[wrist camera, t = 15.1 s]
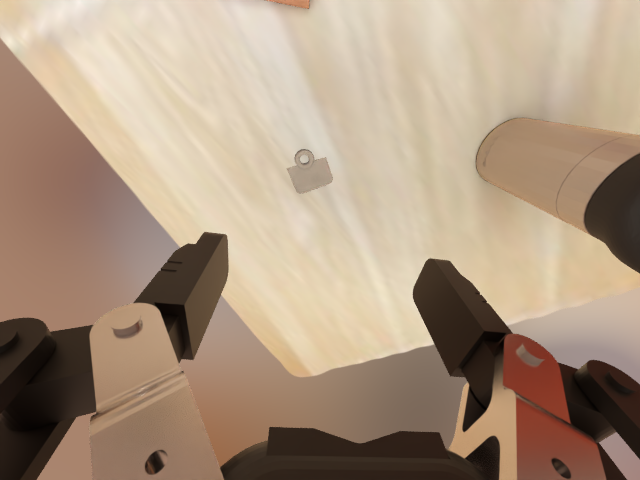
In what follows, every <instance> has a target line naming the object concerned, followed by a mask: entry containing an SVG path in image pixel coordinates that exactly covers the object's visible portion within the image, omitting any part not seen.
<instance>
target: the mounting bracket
mask: <svg viewBox="0 0 640 480" xmlns="http://www.w3.org/2000/svg"><path fill="white" fill-rule="evenodd" d="M304 154H305V155H307V156H308V157H309V162H307V163H304V164H302V163H301V162H300V156H301V155H304ZM295 163H296V164H297V166H293V167H290V168H287V170H288V173H289V175H290V177H291V180H292V182H293V184H294V187H295V189H296V191H297V192H298V193H305V192H308V191H311V190H314V189H316V188H319V187H322V186H325V185H327V184H330V183H331V182H332V180H333V177H332V174H331V171H330V168H329V165H328V162H327V159H326V157H325V158H322V159H318V160H315V161H314V156H313V154H312V152H310V151H309V150H306V149H302V150H300V151H298V152H297V153H296V155H295Z"/></svg>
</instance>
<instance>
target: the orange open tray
mask: <svg viewBox="0 0 640 480" xmlns="http://www.w3.org/2000/svg"><path fill="white" fill-rule="evenodd" d="M266 1H271V2H276V3H281V4H287V5H292V6H297V7H302V8H307V9H309V1H310V0H266Z"/></svg>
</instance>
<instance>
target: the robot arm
mask: <svg viewBox="0 0 640 480" xmlns="http://www.w3.org/2000/svg"><path fill="white" fill-rule="evenodd" d="M476 164H477V170H478V173H479V174H480V176H481V177H482V178H483V179H485V180H486V181H488V182H490V183H492V184H494V185H496V186H498V187H499V188H501V189H503V190H505V191H507V192H509V193H511V194H513V195H515V196H516V197H518V198H520V199H522V200H524V201H526V202H528V203H530V204H532V205H534V206H536V207H538V208H539V209H541V210H543V211H545V212H547V213H549V214H551V215H553V216H555V217H557V218H559V219H561V220H562V221H564V222H566V223H569V224H571V225H572V226H574V227H576V228H578V229H580V230H582V231H584V232H586V233H588V234H590V235H592V236H593V237H595V238H597V239H599V240H601V241H602V242H604V243H605V244H606V245H607V246H608V248H609V249H610V251H611V252H612V253H613V254H614V255H615V256H616V257H617V258H618V259H619V260H620V261H621V262H623V263H624V264H626V265H627V266H629V267H630V268H632V269H633V270H635V271H637V272H638V273H640V135H635V134H628V133H622V132H615V131H608V130H601V129H595V128H588V127H581V126H574V125H567V124H561V123H554V122H548V121H541V120H534V119H527V118H515V119H512V120H509V121H507V122H505V123H503V124H501V125H499V126H498V127H497V128H495V129H494V130H493V131H492V132H491V133H490V134H489V135H488V136H487V137H486V139H485V140H484V141H483V143H482V145H481V147H480V149H479V152H478V155H477V160H476ZM227 276H228V240H227V235H226V234H218V233H210V232H204V233H203V234H202V236H201V237H200V239H199V240H198V241H197V243H196V244H186V245H184V246H183V247H181V248H179V249H178V250H176V251H175V252H174V253H173V254H172V256H171V257H170V258H169V259H168V261H167V263H165V264H164V266H163V267H162V268H161V271H159V272H158V273H157V274H156V275H155V277H154V278H153V279H152V280H151V282H150V283H149V284H148V285H147V287H146V288H145V289H144V290H143V292H142V293H141V294H140V295H139V297H138V298H137V299H136V301H135V302H134V303H132V304H127V305H123V306H121V307H118V308H116V309H113V310H111V311H110V312H108V313H107V314H105V315H103V316H102V317H101V318H100V319H99V320H98V321H97V322H96V323H95V324H94V325H90V326H84V327H78V328H71V329H65V330H59V331H53V332H50V331H49V329H48V328H47V326H46V324H45V323H44V322H43V321H41V320H39V319H34V318H18V319H12V320H7V321H4V322H0V480H37V478H38V476H39V475H40V473H41V472H42V470H43V469H44V467H45V465H46V464H47V462H48V461H49V459H50V458H51V456H52V454H53V453H54V451H55V450H56V448H57V447H58V445H59V444H60V442H61V440H62V439H63V437H64V436H65V434H66V433H67V431H68V429H69V428H70V426H71V425H72V423H73V422H74V420H75V418H76V417H78V416H82V415H86V414H89V413H93V412H96V414H95V415H93V416H92V417H91V419H90V425H89V431H90V432H89V433H90V448H91V460H92V461H91V462H92V475H93V480H627V479H626V478H625V477H624V475H623V474H622V473H621V471H620V470H619V469H618V467H617V466H616V465H615V463H614V462H613V461H612V459H611V458H610V457H609V456H608V454H607V453H606V452H605V450H604V449H603V448H602V446H601V445H600V444H599V442H600V441H602V440H603V439H605V438H607V437H608V436H610V435H612V434H613V433H615V432H617V433H618V434H619V435H620V436H621V437H622V439H623V440H624V441H625V442H626V443H627V444H628V446H629V447H630V448H631V449H632V451H633V452H634V453H635V454H636V455H637V457H638V458H639V459H640V384H638V383H637V382H636V381H635V380H633V379H632V378H631V377H630V376H628V375H627V374H625V373H624V372H622V371H621V370H619V369H617V368H615V367H613V366H611V365H609V364H607V363H605V362H601V361H597V360H590V361H588V362H587V363H586V364H585V365H583V366H582V367H581V368H580V369H576V368H573V367H570V366H567V365H564V364H561V363H558V362H557V361H556V360H555V358H554V357H553V356H552V355H551V354H550V353H549V352H548V351H547V350H546V349H545V348H544V347H543V346H541V345H540V344H538V343H537V342H535V341H534V340H532V339H530V338H528V337H525V336H523V335H519V334H513V333H512V332H511V330H510V329H509V328H508V327H507V326H506V324H505V323H504V322H503V321H502V319H501V318H500V317H499V316H498V315H497V313H496V312H495V311H494V310H493V308H492V307H491V306H490V305H489V303H486V302H487V301H486V300H485V299H484V297H483V296H482V295H480V292H479V291H478V290H477V289H476V288H475V286H474V285H473V284H472V283H471V282H470V281H469V280H467V279H466V278H465V277H463V276H462V275H461V274H460V273H459V272H458V271H457V269H456V268H455V267H454V266H453V264H452V263H451V262H450V261H448V260H439V259H428V260H427V261H426V262H425V264H424V267H423V269H422V271H421V273H420V275H419V277H418V279H417V281H416V284H415V286H414V289H413V299H414V302H415V304H416V306H417V308H418V310H419V312H420V315H421V317H422V319H423V321H424V323H425V325H426V327H427V329H428V331H429V333H430V335H431V337H432V339H433V342H434V344H435V345H436V348H437V350H438V352H439V354H440V356H441V358H442V360H443V362H444V364H445V366H446V368H447V370H448V373H449V375H450V376H454V377H465V378H466V379H467V381H468V382H467V384H466V385H465V386H464V388H463V392H462V398H461V403H460V409H459V414H458V419H457V425H456V430H455V435H454V439H453V442H452V444H451V446H450V448H449V449H446V448H445V446H444V444H443V441H442V439H441V436H440V433H438V432H408V431H399V432H396V433H393V434H390V435H387V436H384V437H381V438H378V439H375V440H372V441H369V442H366V443H361V444H359V443H354V442H351V441H348V440H346V439H343V438H340V437H337V436H334V435H331V434H328V433H325V432H323V431H320V430H317V429H313V428H282V427H270V428H269V436H268V441H264V442H261V443H258V444H255V445H253V446H251V447H249V448H247V449H245V450H243V451H242V452H240V453H238V454H237V455H235V456H234V457H232V458H231V459H230V460H229V461H227V462H226V463H225V464H224V465H222V466H221V467H219V464H218V462H217V459H216V456H215V453H214V451H213V448H212V445H211V443H210V440H209V437H208V435H207V432H206V429H205V426H204V424H203V421H202V418H201V416H200V413H199V410H198V408H197V405H196V402H195V400H194V397H193V394H192V391H191V389H190V386H189V383H188V381H187V378H186V376H185V374H184V372H183V371H181V368H180V366H179V363H180V361H181V359H189V360H193V359H194V357H195V355H196V353H197V350H198V348H199V345H200V343H201V341H202V338H203V336H204V333H205V331H206V329H207V326H208V324H209V322H210V319H211V317H212V315H213V312H214V310H215V307H216V305H217V303H218V300H219V298H220V296H221V293H222V291H223V288H224V286H225V284H226V281H227Z"/></svg>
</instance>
